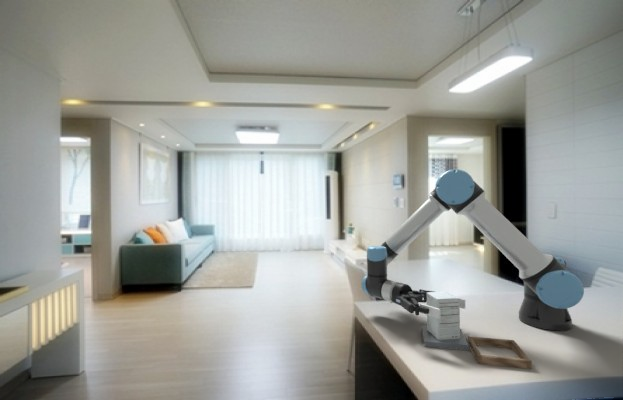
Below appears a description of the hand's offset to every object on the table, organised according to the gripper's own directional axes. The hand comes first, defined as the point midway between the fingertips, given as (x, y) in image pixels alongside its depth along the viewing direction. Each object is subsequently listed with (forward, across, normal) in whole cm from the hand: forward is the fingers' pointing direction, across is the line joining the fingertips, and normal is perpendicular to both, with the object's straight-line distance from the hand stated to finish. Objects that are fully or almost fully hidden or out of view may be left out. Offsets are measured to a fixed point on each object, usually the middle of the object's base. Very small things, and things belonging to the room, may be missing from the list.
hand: (452, 309), depth 97 cm
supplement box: (-3, 0, -9) cm, 10 cm away
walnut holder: (+11, -3, -10) cm, 16 cm away
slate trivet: (-3, 0, -10) cm, 11 cm away
